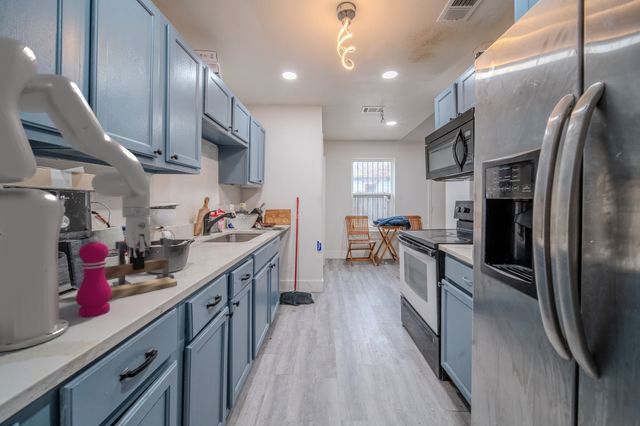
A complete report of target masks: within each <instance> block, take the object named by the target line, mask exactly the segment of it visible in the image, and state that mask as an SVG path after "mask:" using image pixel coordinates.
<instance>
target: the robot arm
mask: <svg viewBox="0 0 640 426" xmlns="http://www.w3.org/2000/svg"><path fill="white" fill-rule="evenodd" d="M38 71H39V63H38V59H37V57H36V55H35V53H34V52H33V51H32V49H31V48H30V46H28V45H27V44H26V43H24V42H22V41H20V40H18V39H15V38H13V37H9V36H4V35H3V36H2V35H0V352H9V351H14V350H20V349H25V348H29V347H33V346H35V345H39V344H42V343H45V342H47V341H51V340H52V339H55V338H57V337H59V336H61V335H63V334H64V333H65V332H66V331H67V330H68V329H69V327H70V325H69V324H70V323H69V321H68V320H66V319H62V318H60V296H59V295H60V291H59V289H60V288H59V282H60V281H59V280H60V279H59V238H60V233H61V228H62V226H63V225H62V224H63V220H64V215H65V214H64V213H65V212H64V211H65V209H64V206H63V204H62V201H61V200H60V199H59V198H58V197H57V196H56V195H54V194H52V193H50V192H49V191H45V190H41V189H38V188H28V187H25V188H24V187H23V188H22V187H21V188H19V187H18V188H17V187H8V188H7V187H4V186H3V184H15V183H17V184H18V183H22V182H26V181H29V180H30V179H32V178H33V177H34V176H35V175H36V173H37V170H38V164H37V160H36V158H35V155H34V152H33V150H32V147H31V145H30V141H29V138H28V137H27V134H26V132H25V131H26V130H25V128H24V126H23V123H22V120H21V118H20V114H19V112H25V113H29V114H46V116H47V117H48V118H49V120H50V121H51V122H52V123H53V125H54V126H55V128H56V129H57V130H58V132H59V133H60V135H61V136H62V137H63V139H64V141H65V142H66V144H67V145H68V146H69V147H70V148H72V149H73V150H75V151H78V152H81V153H82V154H85V155H88V156H91V157H93V158H96V159H98V160H101V161H103V162H105V163H107V164H109V165H110V166H112V167H113V168H114V169H115V170H117V171H103V172H102V171H101V172H98V173H96V174H95V175H94V176H93V177H92V180H91V187H92V190H93V191H95V193H97V194H98V195H101V196H103V197H107V198H108V197H109V198H121V204H122V205H121V209H122V211H121V215H122V217H121V218H125V228H124V229H125V234H124V236H125V238H124V240H125V241H124V242H126V245H127V246H128V248H129V264H130V263H133V270H139V269H144V268H145V262H144V261H145V252H146V248H150V247H151V245H152V243H151V242H152V241H151V226H150V219H149V218H150V217H151V208H150V207H151V190H150V189H151V184H150V183H151V181H150V178H149V177H148V176H147V174H146V171H145V170H144V168H143V166H142V164H141V162H140V161H139V160H138V158H137V157H136V156H135V155H134V154H133V153H132V152H130V150H128V149H127V148H126V147H125V146H123V145H122V144H120V143H119V142H117V140H115V139H113V138H111V137H110V136H109V135H108V134H107V133H106V132H105V130H104V128H103V127H102V125H101V124H100V122H99V120H98V118H97V117H96V116H97V115H95V113H94V112H93V110H92V108H91V106H90V105H89V103H88V101H87V99H86V97H85V95H84V94H83V93H82V92H81V90H80V88H79V87H78V84H76V83H75V82H74V81H73V79H71V78H69V77H67V76H64V75H60V74H55V73H39V72H38Z"/></svg>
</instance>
